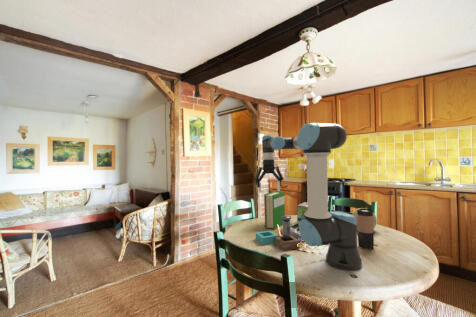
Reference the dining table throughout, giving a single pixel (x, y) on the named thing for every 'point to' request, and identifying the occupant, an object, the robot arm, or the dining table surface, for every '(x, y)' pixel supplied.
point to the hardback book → (274, 209)
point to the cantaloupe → (356, 217)
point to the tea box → (301, 211)
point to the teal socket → (266, 237)
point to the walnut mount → (286, 243)
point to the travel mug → (365, 228)
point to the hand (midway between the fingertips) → (269, 191)
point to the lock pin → (286, 228)
